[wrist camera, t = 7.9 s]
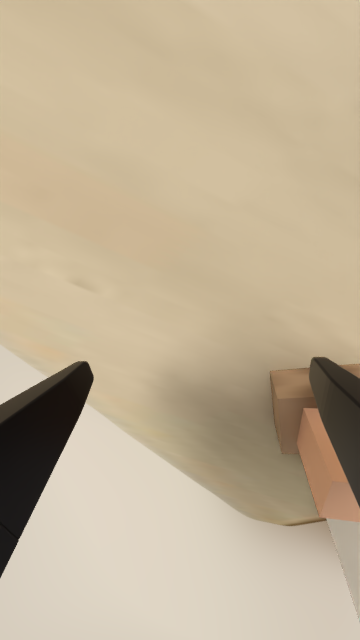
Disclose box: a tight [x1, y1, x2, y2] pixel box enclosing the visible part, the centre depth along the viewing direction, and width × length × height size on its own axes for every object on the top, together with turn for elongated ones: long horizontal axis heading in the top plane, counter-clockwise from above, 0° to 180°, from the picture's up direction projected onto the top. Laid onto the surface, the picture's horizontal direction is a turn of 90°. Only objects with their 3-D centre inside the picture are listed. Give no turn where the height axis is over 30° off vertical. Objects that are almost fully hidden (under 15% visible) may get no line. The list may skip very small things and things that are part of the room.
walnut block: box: [270, 364, 360, 454], centre depth 23 cm, size 8×8×4 cm
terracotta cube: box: [297, 408, 360, 522], centre depth 18 cm, size 5×5×6 cm
